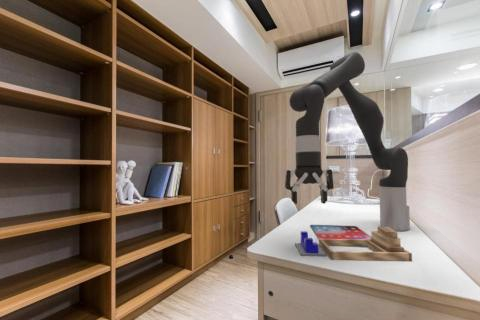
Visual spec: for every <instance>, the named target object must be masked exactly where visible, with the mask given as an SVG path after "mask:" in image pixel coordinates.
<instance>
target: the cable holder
mask: <svg viewBox="0 0 480 320" xmlns="http://www.w3.org/2000/svg"><path fill="white" fill-rule="evenodd" d="M300 243H301V245H302V247H303V249H304V250H305V252H306V253H318V246H319V243H317V242H314V239H313V238H312V237H309V232H308V231H305V230H304V231H300Z"/></svg>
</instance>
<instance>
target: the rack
mask: <svg viewBox="0 0 480 320" xmlns="http://www.w3.org/2000/svg"><path fill="white" fill-rule="evenodd" d="M318 246H319V247H320V248H321V249H322V250H323V251H324V253H325V254H326V256H327V257H329V259H330V260H332V261H333V260H335V261H381V262H382V261H387V262H388V261H389V262H391V261H393V262H394V261H395V262H400V261H401V262H413V255H412V254H413V253H412V252H410V251H408V250H406V249H404V252H387V251H385V250H384V249H382V248H381V247H379V246H377V245H376V244H374V243H373V242H371V239H318ZM344 246H367V247H366V248H368V249H369V250H371V251H346V250H345V251H344V250H343V251H341V250H340V251H337V250H336V251H335V250H332V249H331V247H344Z"/></svg>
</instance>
